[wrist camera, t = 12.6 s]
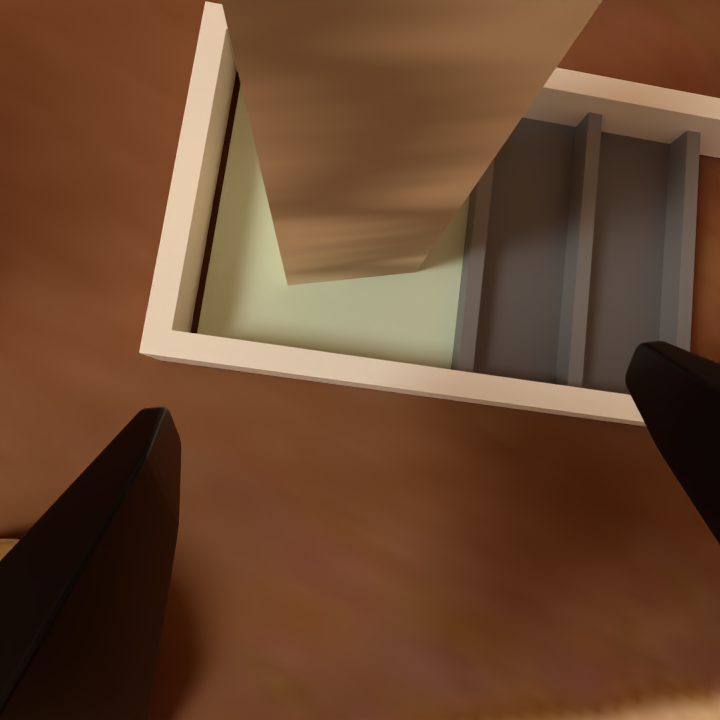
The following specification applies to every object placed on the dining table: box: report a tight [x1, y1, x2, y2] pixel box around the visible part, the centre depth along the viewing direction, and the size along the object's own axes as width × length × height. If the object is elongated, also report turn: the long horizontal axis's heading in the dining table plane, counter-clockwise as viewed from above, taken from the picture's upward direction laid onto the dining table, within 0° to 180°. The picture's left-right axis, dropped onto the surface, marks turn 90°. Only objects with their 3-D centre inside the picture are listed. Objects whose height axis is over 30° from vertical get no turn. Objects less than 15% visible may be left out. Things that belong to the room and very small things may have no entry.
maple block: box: [221, 0, 602, 285], centre depth 11 cm, size 4×4×12 cm
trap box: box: [139, 2, 720, 427], centre depth 17 cm, size 28×12×2 cm, turn 83°
